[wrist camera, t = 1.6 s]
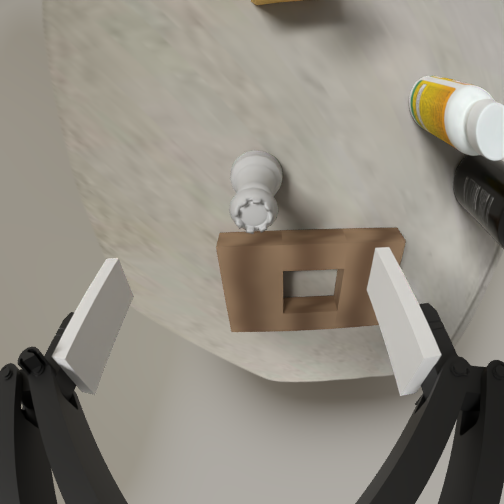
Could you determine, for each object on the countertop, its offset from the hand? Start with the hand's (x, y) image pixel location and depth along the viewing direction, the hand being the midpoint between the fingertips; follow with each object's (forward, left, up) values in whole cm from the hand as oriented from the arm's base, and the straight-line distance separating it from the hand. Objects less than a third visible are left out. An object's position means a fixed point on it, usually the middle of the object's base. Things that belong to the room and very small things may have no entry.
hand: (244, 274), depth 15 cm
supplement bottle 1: (-16, -7, -14) cm, 22 cm away
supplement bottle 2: (-23, 0, -14) cm, 27 cm away
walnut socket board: (-5, +12, -13) cm, 19 cm away
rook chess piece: (0, 0, -14) cm, 14 cm away
